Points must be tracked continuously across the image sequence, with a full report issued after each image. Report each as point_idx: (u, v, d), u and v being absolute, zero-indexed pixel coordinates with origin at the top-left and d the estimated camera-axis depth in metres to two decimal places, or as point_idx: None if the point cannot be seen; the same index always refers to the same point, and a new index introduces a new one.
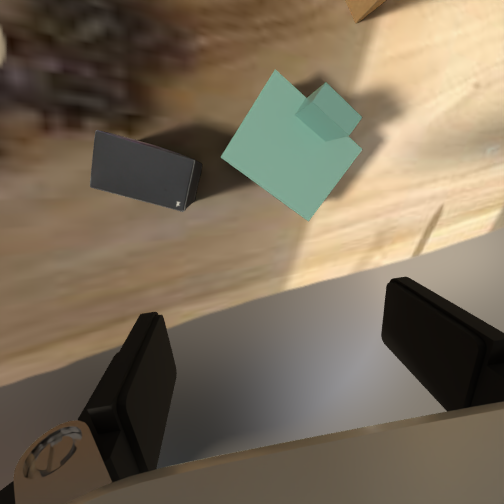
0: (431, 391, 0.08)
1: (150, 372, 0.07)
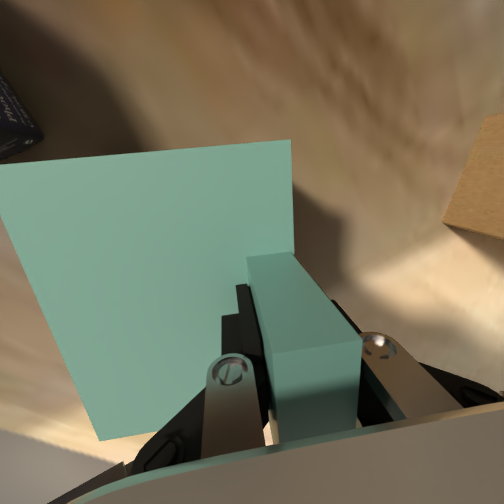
0: None
1: None
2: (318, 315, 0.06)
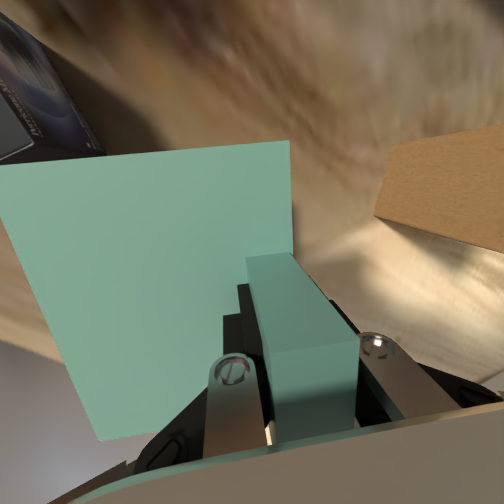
0: None
1: None
2: (316, 315, 0.06)
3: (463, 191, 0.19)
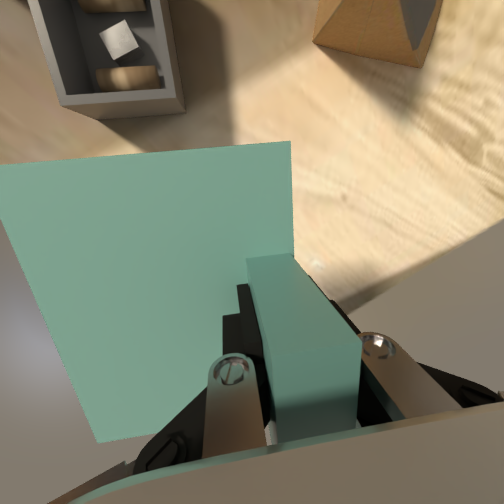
0: None
1: None
2: (318, 317, 0.06)
3: None
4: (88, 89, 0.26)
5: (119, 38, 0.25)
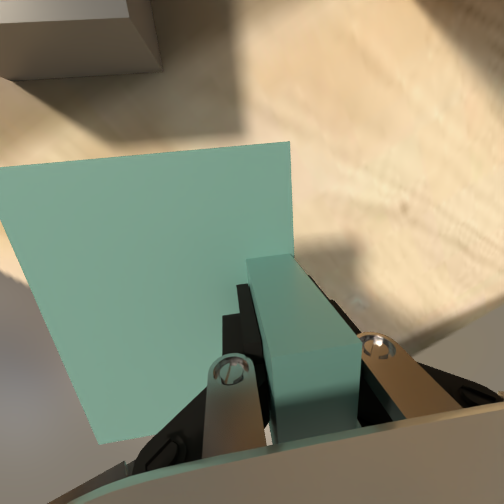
0: None
1: None
2: (318, 317, 0.06)
3: None
4: None
5: None
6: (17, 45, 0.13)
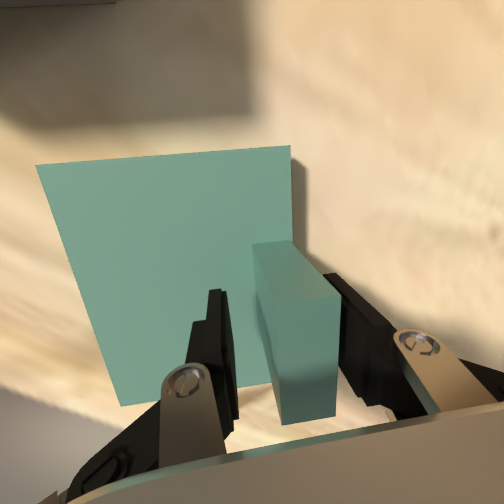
0: (345, 375, 0.09)
1: (229, 335, 0.09)
2: (310, 281, 0.08)
3: None
4: None
5: None
6: None
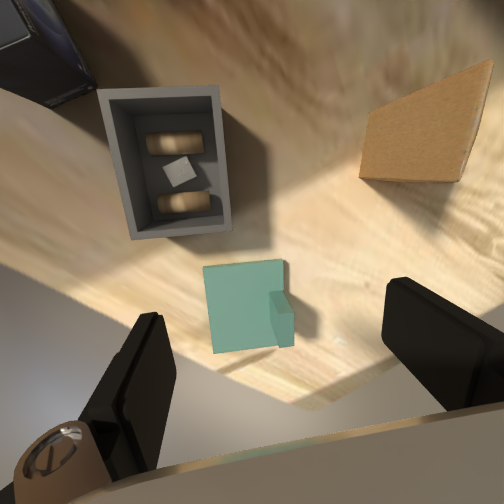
0: (431, 391, 0.08)
1: (150, 372, 0.07)
2: (287, 308, 0.31)
3: (423, 139, 0.23)
4: (147, 208, 0.29)
5: (179, 170, 0.28)
6: None
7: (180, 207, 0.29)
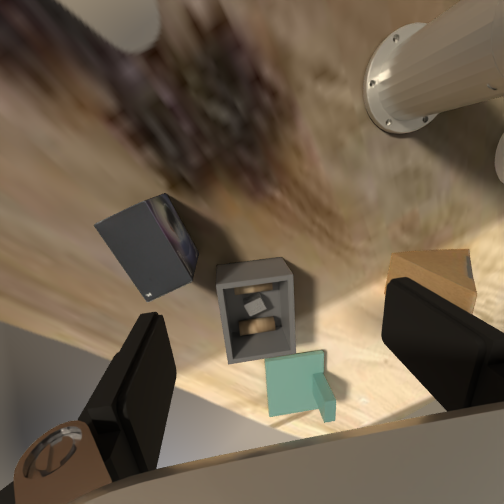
0: (431, 391, 0.08)
1: (150, 372, 0.07)
2: (330, 395, 0.42)
3: None
4: (230, 329, 0.41)
5: (255, 306, 0.39)
6: None
7: (254, 333, 0.41)
